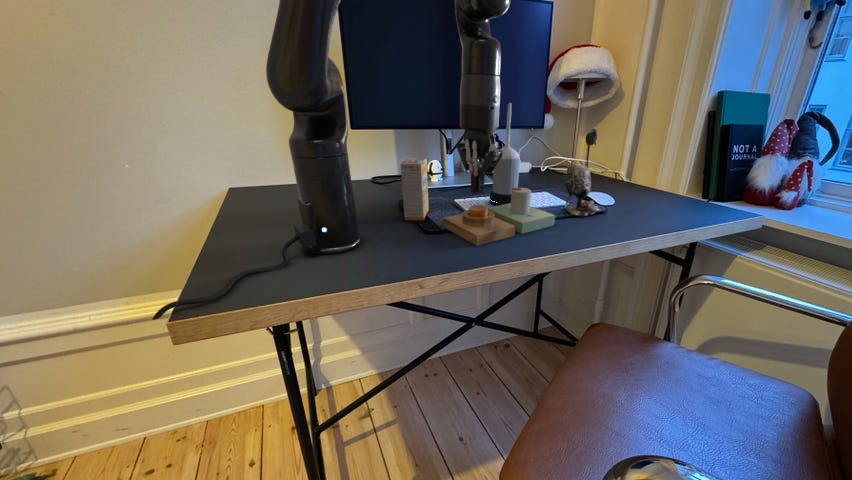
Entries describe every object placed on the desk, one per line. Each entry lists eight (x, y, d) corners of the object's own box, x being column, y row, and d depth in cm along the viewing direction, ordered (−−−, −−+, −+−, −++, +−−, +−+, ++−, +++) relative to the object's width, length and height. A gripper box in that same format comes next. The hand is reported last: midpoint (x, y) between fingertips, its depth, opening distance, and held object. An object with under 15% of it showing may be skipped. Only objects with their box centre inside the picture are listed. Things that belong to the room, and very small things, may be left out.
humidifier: (522, 200, 103) (529, 103, 92) (515, 208, 96) (522, 104, 85) (494, 197, 105) (498, 102, 94) (486, 205, 98) (488, 102, 87)
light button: (476, 219, 76) (476, 211, 75) (465, 214, 79) (465, 206, 78) (491, 216, 78) (491, 208, 77) (480, 211, 81) (480, 204, 80)
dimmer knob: (531, 209, 87) (533, 187, 84) (527, 215, 83) (528, 191, 81) (513, 207, 88) (514, 185, 86) (508, 212, 84) (509, 189, 82)
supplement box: (424, 221, 86) (421, 163, 80) (404, 220, 86) (399, 163, 80) (429, 210, 93) (427, 157, 87) (410, 210, 93) (407, 156, 87)
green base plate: (521, 233, 79) (522, 222, 78) (485, 217, 89) (486, 207, 87) (554, 225, 85) (555, 214, 83) (517, 211, 94) (517, 201, 93)
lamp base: (476, 245, 73) (476, 226, 71) (443, 227, 82) (442, 209, 80) (514, 235, 78) (515, 217, 76) (479, 219, 88) (479, 203, 86)
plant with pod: (552, 209, 96) (561, 128, 87) (588, 206, 99) (601, 127, 90) (569, 219, 89) (580, 131, 80) (607, 215, 92) (623, 130, 83)
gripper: (444, 100, 72) (445, 188, 79) (485, 104, 62) (481, 203, 70) (475, 101, 76) (473, 184, 84) (518, 104, 66) (511, 198, 74)
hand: (477, 193), depth 77 cm, fingers closed
